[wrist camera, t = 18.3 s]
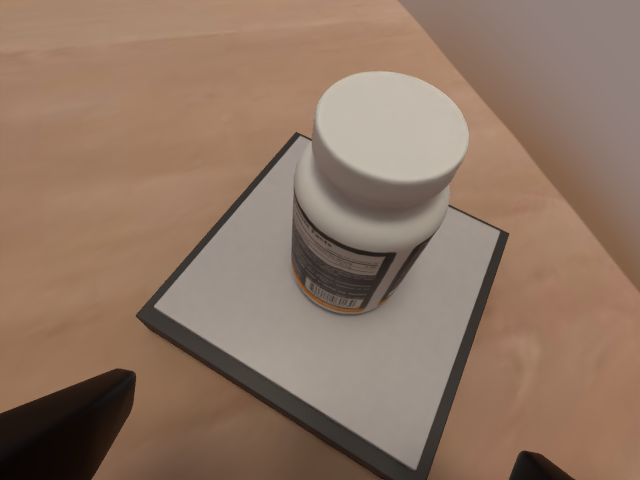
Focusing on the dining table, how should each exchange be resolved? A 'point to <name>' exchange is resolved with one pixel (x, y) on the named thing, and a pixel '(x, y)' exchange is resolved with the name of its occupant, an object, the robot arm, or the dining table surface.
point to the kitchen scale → (332, 327)
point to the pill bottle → (372, 187)
